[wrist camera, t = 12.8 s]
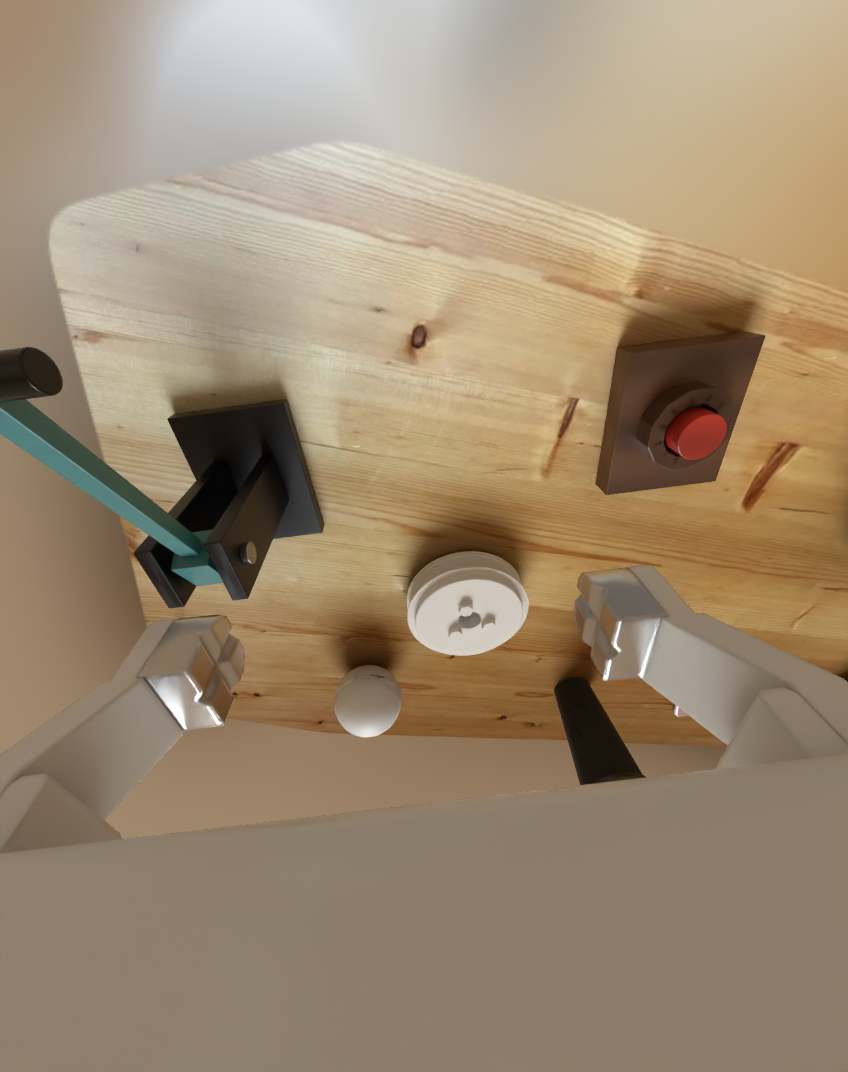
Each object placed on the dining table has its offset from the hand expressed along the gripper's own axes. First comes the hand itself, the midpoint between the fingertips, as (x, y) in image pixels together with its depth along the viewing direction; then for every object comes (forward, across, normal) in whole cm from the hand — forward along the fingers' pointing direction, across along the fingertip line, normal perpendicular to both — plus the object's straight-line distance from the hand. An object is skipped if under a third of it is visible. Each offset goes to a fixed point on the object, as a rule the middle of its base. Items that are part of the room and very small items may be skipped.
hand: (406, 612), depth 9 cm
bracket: (+26, +13, +7) cm, 30 cm away
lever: (+12, +13, +1) cm, 18 cm away
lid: (+27, -4, +24) cm, 36 cm away
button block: (+26, -22, +6) cm, 35 cm away
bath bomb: (+27, +8, +36) cm, 45 cm away
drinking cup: (+27, -19, +44) cm, 55 cm away
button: (+23, -22, +6) cm, 33 cm away
